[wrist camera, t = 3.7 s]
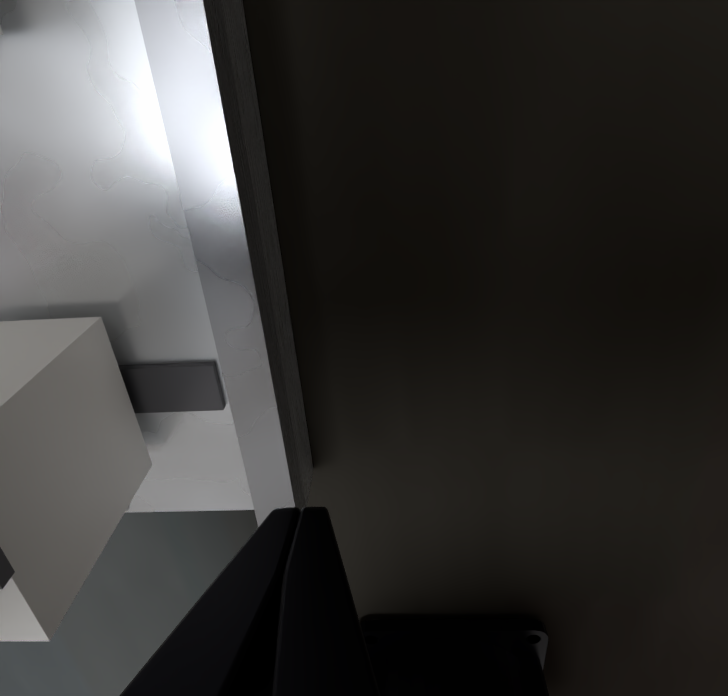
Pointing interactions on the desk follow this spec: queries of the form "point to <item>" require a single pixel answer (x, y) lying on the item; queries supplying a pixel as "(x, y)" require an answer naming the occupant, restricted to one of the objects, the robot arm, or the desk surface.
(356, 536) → the desk surface
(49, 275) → the console
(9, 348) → the fader
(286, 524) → the robot arm
